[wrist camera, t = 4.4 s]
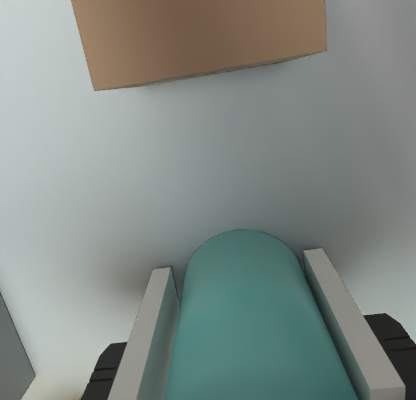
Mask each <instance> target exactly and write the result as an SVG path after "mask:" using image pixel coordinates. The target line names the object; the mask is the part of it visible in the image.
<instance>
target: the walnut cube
mask: <svg viewBox="0 0 416 400" xmlns="http://www.w3.org/2000/svg"><path fill="white" fill-rule="evenodd" d="M71 2H72V6H73V10H74V14H75V18H76V22H77V26H78V30H79V33H80V37H81V41H82V45H83V49H84V53H85V57H86V61H87V64H88V68H89V72H90V76H91V80H92V84H93V88H94V91H99V90H109V89H120V88H130V87H140V86H147V85H153V84H158V83H164V82H170V81H176V80H181V79H187V78H193V77H199V76H205V75H210V74H216V73H222V72H228V71H234V70H239V69H245V68H251V67H257V66H262V65H268V64H274V63H280V62H285V61H289V60H293V59H297V58H300V57H304V56H308V55H312V54H316V53H319V52H323V51H327V43H326V20H325V0H71Z"/></svg>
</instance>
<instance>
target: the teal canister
mask: <svg viewBox="0 0 416 400" xmlns="http://www.w3.org/2000/svg"><path fill="white" fill-rule="evenodd" d="M164 400H358V398H357V396H356V393H355V391H354V389H353V386H352V384H351V382H350V379H349V377H348V375H347V372H346V370H345V368H344V366H343V363H342V361H341V359H340V356H339V354H338V352H337V349H336V347H335V345H334V342H333V340H332V338H331V336H330V333H329V331H328V329H327V326H326V324H325V322H324V319H323V317H322V315H321V312H320V310H319V308H318V306H317V303H316V301H315V299H314V296H313V294H312V292H311V289H310V287H309V285H308V282H307V280H306V278H305V276H304V273H303V271H302V269H301V266H300V264H299V262H298V260H297V258H296V256H295V255H294V253H293V252H292V250H291V249H290V248H289V247H288V246H287V245H286V244H285V243H283V242H282V241H281V240H279V239H277V238H276V237H274V236H272V235H269V234H267V233H264V232H260V231H255V230H233V231H228V232H225V233H222V234H219V235H217V236H215V237H213V238H211V239H209V240H208V241H206V242H205V243H204V244H203V245H201V246H200V247H199V248H198V249H197V251H196V252H195V253H194V255H193V256H192V257H191V259H190V261H189V263H188V266H187V269H186V274H185V280H184V286H183V292H182V298H181V303H180V309H179V315H178V321H177V327H176V332H175V338H174V344H173V350H172V356H171V362H170V367H169V373H168V379H167V385H166V391H165V397H164Z"/></svg>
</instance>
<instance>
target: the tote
mask: <svg viewBox="0 0 416 400" xmlns="http://www.w3.org/2000/svg"><path fill="white" fill-rule="evenodd" d="M34 378H35V374H34V372H33V369H32V367H31V365H30V362H29V360H28V358H27V355H26V353H25V351H24V348H23V346H22V344H21V341H20V339H19V336H18V334H17V332H16V329H15V327H14V325H13V322H12V320H11V318H10V315H9V313H8V311H7V308H6V306H5V303H4V301H3V299H2V296H1V294H0V400H21V399H22V397H23V396H24V394H25V392H26V391H27V389H28V387H29V386H30V384H31V383H32V381H33V379H34Z"/></svg>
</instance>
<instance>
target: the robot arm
mask: <svg viewBox="0 0 416 400" xmlns="http://www.w3.org/2000/svg"><path fill="white" fill-rule="evenodd" d="M303 251H304V264H305V277H306V280H307V282H308V285H309V287H310V289H311V292H312V294H313V296H314V299H315V301H316V303H317V306H318V308H319V310H320V312H321V315H322V317H323V319H324V322H325V324H326V326H327V329H328V331H329V333H330V336H331V338H332V340H333V342H334V345H335V347H336V349H337V352H338V354H339V356H340V359H341V361H342V363H343V366H344V368H345V370H346V372H347V375H348V377H349V379H350V382H351V384H352V386H353V389H354V391H355V393H356V396H357V398H358V400H416V344H415V343H414V342H413V340H412V339H410V336H409V335H408V333H407V332H406V331H405V329H404V328H403V327H402V325H401V324H400V323H399V322H397V321H396V320H395V319H393V318H392V317H390V316H389V315H387V314H386V313H383V314H373V315H364V316H363V315H362V313H361V311H360V310H359V308H358V306H357V305H356V303H355V301H354V300H353V298H352V296H351V295H350V293H349V291H348V290H347V288H346V286H345V285H344V283H343V281H342V280H341V278H340V276H339V275H338V273H337V271H336V270H335V268H334V266H333V265H332V263H331V261H330V260H329V258H328V256H327V255H326V253H325V251H324V250H323V248H319V249H311V250H303ZM179 309H180V306H179V301H178V297H177V292H176V288H175V283H174V279H173V274H172V270H171V267H167V268H159V269H153V271H152V274H151V277H150V280H149V283H148V286H147V288H146V291H145V294H144V297H143V300H142V303H141V305H140V308H139V311H138V314H137V317H136V320H135V323H134V325H133V328H132V331H131V334H130V337H129V340H128V342H123V343H113V344H110V345H109V346H108V347H107V348H106V350H105V351H104V352H103V353H102V354H101V355H100V357H99V359H98V361H97V364H96V366H95V368H94V372H93V373H92V375H91V378H90V380H89V383H88V384H87V387H86V389H85V391H84V394H83V396H82V398H81V400H164V397H165V391H166V385H167V379H168V373H169V367H170V362H171V356H172V350H173V344H174V338H175V332H176V327H177V321H178V315H179Z"/></svg>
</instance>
